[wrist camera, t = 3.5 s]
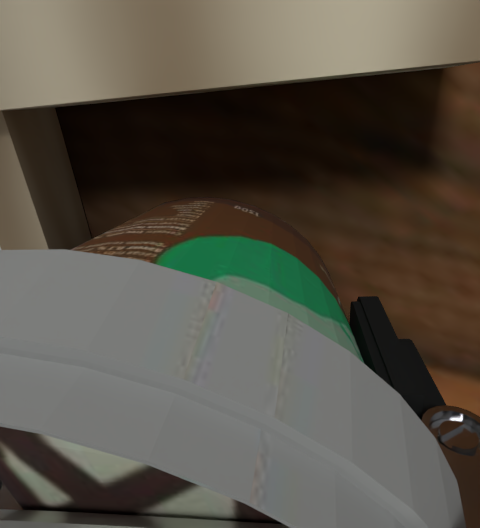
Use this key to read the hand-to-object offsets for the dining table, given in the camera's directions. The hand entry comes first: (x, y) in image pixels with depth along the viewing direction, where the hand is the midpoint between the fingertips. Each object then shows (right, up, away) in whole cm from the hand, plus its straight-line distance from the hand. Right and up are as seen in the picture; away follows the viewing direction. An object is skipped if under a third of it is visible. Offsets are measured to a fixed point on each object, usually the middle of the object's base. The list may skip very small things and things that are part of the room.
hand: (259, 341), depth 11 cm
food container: (+1, +1, +2) cm, 3 cm away
